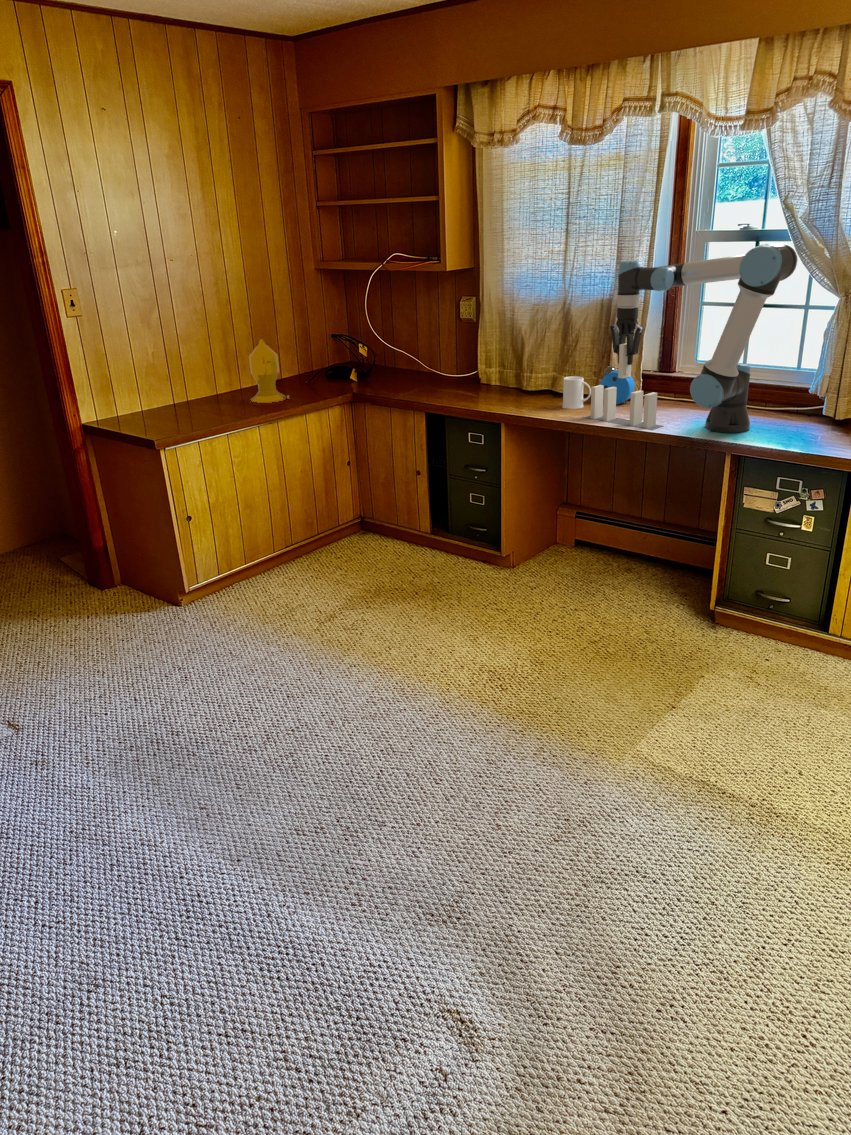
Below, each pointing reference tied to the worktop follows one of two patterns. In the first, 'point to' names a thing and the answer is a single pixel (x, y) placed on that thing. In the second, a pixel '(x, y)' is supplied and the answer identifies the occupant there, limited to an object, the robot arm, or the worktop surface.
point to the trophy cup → (265, 374)
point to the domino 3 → (622, 361)
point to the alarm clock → (618, 384)
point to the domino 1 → (597, 401)
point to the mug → (574, 392)
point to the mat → (624, 422)
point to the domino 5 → (650, 410)
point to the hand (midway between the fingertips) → (624, 373)
